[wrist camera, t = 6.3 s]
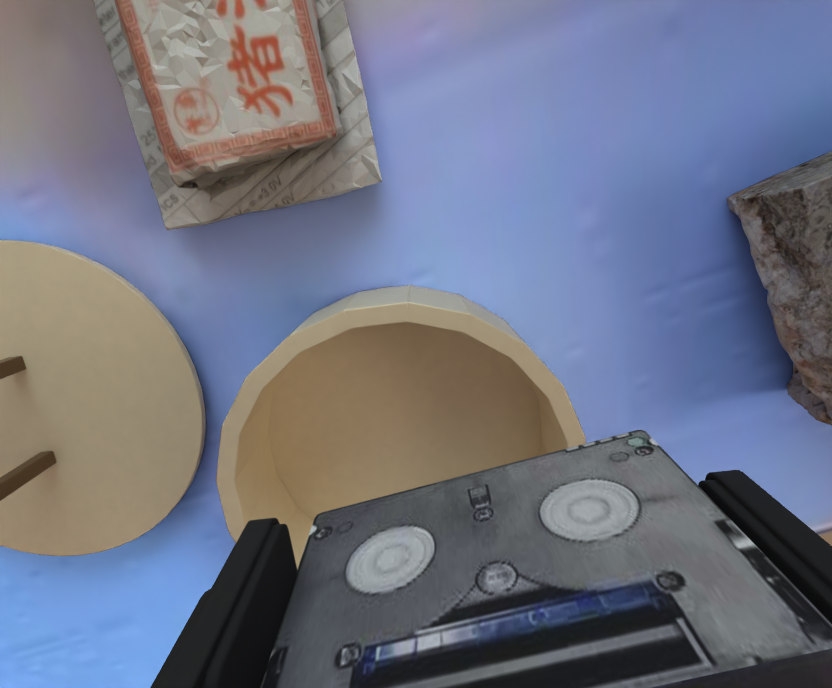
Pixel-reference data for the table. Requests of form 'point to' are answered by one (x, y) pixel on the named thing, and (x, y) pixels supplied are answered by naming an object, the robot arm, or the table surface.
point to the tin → (384, 407)
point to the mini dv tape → (546, 586)
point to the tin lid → (88, 406)
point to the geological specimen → (796, 270)
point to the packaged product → (241, 102)
